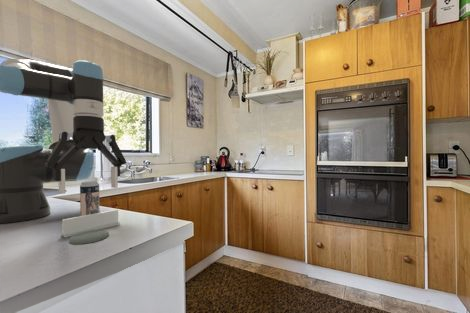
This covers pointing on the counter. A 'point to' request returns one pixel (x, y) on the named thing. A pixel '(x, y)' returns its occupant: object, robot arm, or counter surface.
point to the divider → (89, 223)
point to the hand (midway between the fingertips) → (90, 190)
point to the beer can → (89, 198)
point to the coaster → (88, 237)
